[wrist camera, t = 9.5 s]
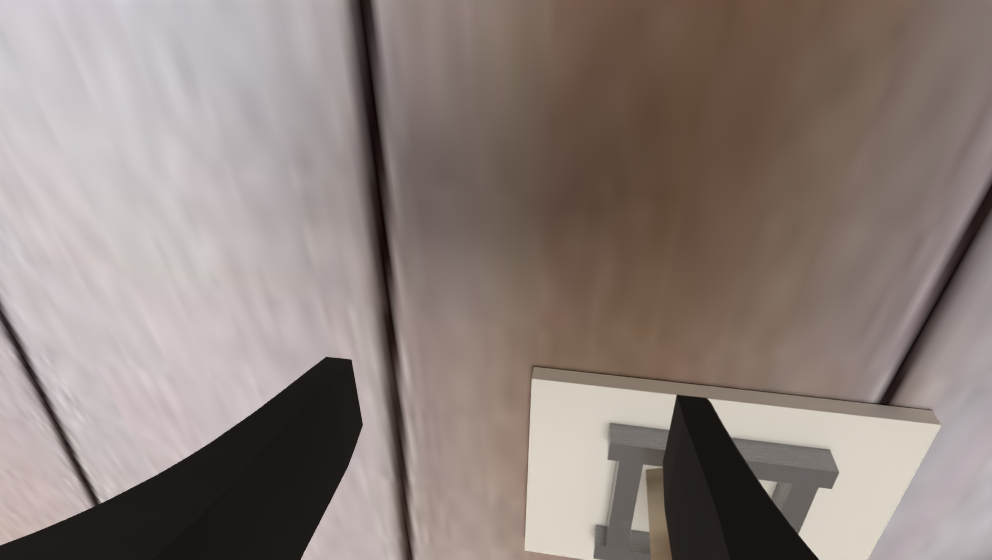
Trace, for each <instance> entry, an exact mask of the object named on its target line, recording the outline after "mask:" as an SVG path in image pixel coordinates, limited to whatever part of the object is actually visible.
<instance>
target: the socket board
mask: <svg viewBox="0 0 992 560" xmlns="http://www.w3.org/2000/svg"><path fill="white" fill-rule="evenodd" d="M677 395H685V396H694V397H704V398H708V400H709V401H710V402H711V403H712V405H713V407H714V409H715V411H716V412H717V414H718V416H719V418H720V420H721V421H722V423H723V425H724V427H725V428H726V430H727V432H728V433H729V435H730V437H731V438H732V440H733V442H734V443H735V445H736V447H737V448H738V450H739V451H740V453H741V455H742V456H743V458H744V459H745V461H746V462H747V464H748V465H749V467H750V468H751V470H752V471H753V473H754V474H755V476H756V477H757V479H758V480H759V482H760V483H761V485H762V486H763V488H764V489H765V491H766V492H767V493H768V495H769V496H770V498H771V499H772V500H773V502H774V503H775V505H776V506H777V507H778V509H779V510H780V511H781V513H782V514H783V515H784V516H785V518H786V519H787V520H788V522H789V523H790V524H791V526H792V527H793V528H794V530H795V531H796V532H797V533H798V535H799V536H800V537H801V538H802V540H803V541H804V542H805V543H806V544H807V546H808V547H809V548H810V549H811V550H812V552H813V553H814V554H815V555H816V556H817V557H818V559H819V560H868V558H869V556H870V554H871V552H872V551H873V549H874V547H875V545H876V543H877V542H878V540H879V538H880V536H881V534H882V532H883V531H884V529H885V527H886V525H887V523H888V522H889V520H890V518H891V516H892V514H893V512H894V511H895V509H896V507H897V505H898V503H899V502H900V500H901V498H902V496H903V494H904V492H905V491H906V489H907V487H908V485H909V483H910V482H911V480H912V478H913V476H914V474H915V473H916V471H917V469H918V467H919V465H920V463H921V462H922V460H923V458H924V456H925V454H926V453H927V451H928V449H929V447H930V445H931V443H932V442H933V440H934V438H935V436H936V434H937V433H938V431H939V429H940V427H941V423H940V422H939V420H938V419H937V417H936V416H935V414H934V413H933V411H931V410H922V409H913V408H904V407H895V406H886V405H877V404H868V403H859V402H850V401H840V400H831V399H822V398H813V397H804V396H795V395H786V394H777V393H768V392H759V391H750V390H740V389H731V388H722V387H713V386H704V385H695V384H686V383H677V382H668V381H659V380H650V379H640V378H631V377H622V376H613V375H604V374H595V373H586V372H577V371H568V370H559V369H550V368H541V367H534V370H533V375H532V387H531V411H530V435H529V459H528V483H527V507H526V531H525V550H526V551H532V552H539V553H545V554H552V555H558V556H564V557H571V558H577V559H583V560H651V551H650V535H649V518H648V502H647V486H646V470H647V469H656V468H663V459H664V454H665V449H666V444H667V439H668V434H669V430H670V425H671V420H672V415H673V410H674V405H675V401H676V396H677Z"/></svg>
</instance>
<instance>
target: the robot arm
mask: <svg viewBox="0 0 992 560" xmlns="http://www.w3.org/2000/svg"><path fill="white" fill-rule="evenodd" d="M362 426H363V423H362V418H361V412H360V406H359V400H358V395H357V389H356V383H355V377H354V371H353V366H352V360H350V359H341V358H332V357H326V358H324V359H323V360H322V361H320V362H319V363H318V364H316V365H315V366H314V367H312V368H311V369H310V370H308V371H307V372H306V373H305V374H303V375H302V376H301V377H300V378H298V379H297V380H296V381H294V382H293V383H292V384H291V385H289V386H288V387H287V388H285V389H284V390H283V391H282V392H280V393H279V394H278V395H276V396H275V397H274V398H272V399H271V400H270V401H268V402H267V403H266V404H264V405H263V406H262V407H261V408H259V409H258V410H257V411H255V412H254V413H253V414H251V415H250V416H248V417H247V418H245V419H244V420H243V421H241V422H240V423H238V424H237V425H235V426H234V427H232V428H231V429H230V430H228V431H227V432H225V433H224V434H222V435H221V436H220V437H218V438H217V439H215V440H214V441H212V442H211V443H209V444H208V445H206V446H205V447H203V448H202V449H200V450H198V451H197V452H195V453H194V454H192V455H190V456H189V457H187V458H185V459H184V460H182V461H180V462H178V463H177V464H175V465H173V466H172V467H170V468H168V469H167V470H165V471H163V472H161V473H159V474H158V475H156V476H154V477H152V478H150V479H148V480H146V481H144V482H142V483H140V484H139V485H137V486H135V487H133V488H131V489H129V490H127V491H125V492H123V493H121V494H119V495H117V496H115V497H113V498H111V499H110V500H107V501H105V502H103V503H101V504H99V505H97V506H95V507H92V508H90V509H88V510H86V511H84V512H82V513H79V514H77V515H75V516H73V517H70V518H68V519H66V520H63V521H61V522H59V523H56V524H54V525H52V526H49V527H47V528H45V529H42V530H40V531H37V532H35V533H32V534H30V535H27V536H24V537H22V538H19V539H16V540H14V541H11V542H8V543H6V544H3V545H1V546H0V560H301V558H302V556H303V553H304V551H305V550H306V548H307V546H308V544H309V542H310V540H311V538H312V536H313V534H314V532H315V530H316V528H317V526H318V524H319V522H320V520H321V518H322V516H323V515H324V513H325V511H326V509H327V507H328V505H329V503H330V501H331V499H332V497H333V495H334V493H335V491H336V489H337V487H338V485H339V483H340V481H341V479H342V477H343V475H344V473H345V471H346V469H347V467H348V465H349V462H350V460H351V457H352V454H353V452H354V449H355V446H356V443H357V440H358V437H359V435H360V432H361V429H362ZM663 487H664V509H665V516H666V523H667V529H668V536H669V543H670V549H671V556H672V560H819V559H818V557H817V556H816V555H815V554H814V553H813V552H812V550H811V549H810V548H809V547H808V546H807V544H806V543H805V542H804V541H803V540H802V538H801V537H800V536H799V535H798V533H797V532H796V531H795V530H794V528H793V527H792V526H791V524H790V523H789V522H788V520H787V519H786V518H785V516H784V515H783V514H782V513H781V511H780V510H779V509H778V507H777V506H776V505H775V503H774V502H773V500H772V499H771V498H770V496H769V495H768V493H767V492H766V491H765V489H764V488H763V486H762V485H761V483H760V482H759V480H758V479H757V477H756V476H755V474H754V473H753V471H752V470H751V468H750V467H749V465H748V464H747V462H746V461H745V459H744V458H743V456H742V455H741V453H740V451H739V450H738V448H737V447H736V445H735V443H734V442H733V440H732V438H731V437H730V435H729V433H728V432H727V430H726V428H725V427H724V425H723V423H722V421H721V420H720V418H719V416H718V414H717V412H716V411H715V409H714V407H713V405H712V403H711V402H710V401H709V400H708V398H704V397H694V396H685V395H677V396H676V401H675V405H674V410H673V415H672V420H671V425H670V430H669V434H668V439H667V444H666V449H665V454H664V459H663Z"/></svg>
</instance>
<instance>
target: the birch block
mask: <svg viewBox="0 0 992 560" xmlns="http://www.w3.org/2000/svg"><path fill="white" fill-rule="evenodd" d="M646 486H647V502H648V518H649V535H650V551H651V560H672V556H671V549H670V543H669V536H668V529H667V523H666V516H665V509H664V487H663V468H656V469H647V470H646Z"/></svg>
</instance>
